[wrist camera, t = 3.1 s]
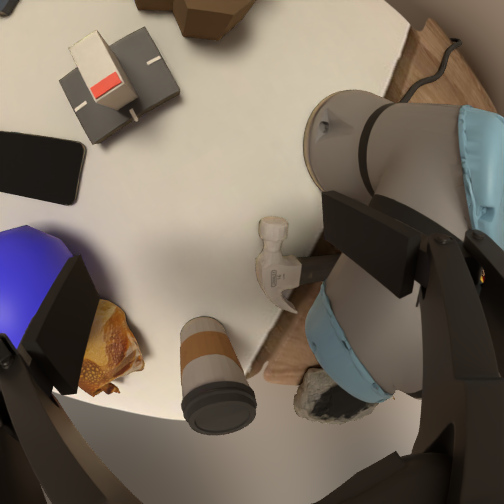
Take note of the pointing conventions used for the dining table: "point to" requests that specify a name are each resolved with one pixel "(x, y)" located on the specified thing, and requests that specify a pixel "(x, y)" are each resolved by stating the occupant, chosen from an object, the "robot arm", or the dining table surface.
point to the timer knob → (102, 72)
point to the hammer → (286, 264)
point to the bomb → (26, 276)
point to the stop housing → (7, 6)
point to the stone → (328, 400)
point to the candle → (202, 15)
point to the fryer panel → (141, 78)
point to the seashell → (109, 351)
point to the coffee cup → (213, 380)
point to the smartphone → (40, 167)
